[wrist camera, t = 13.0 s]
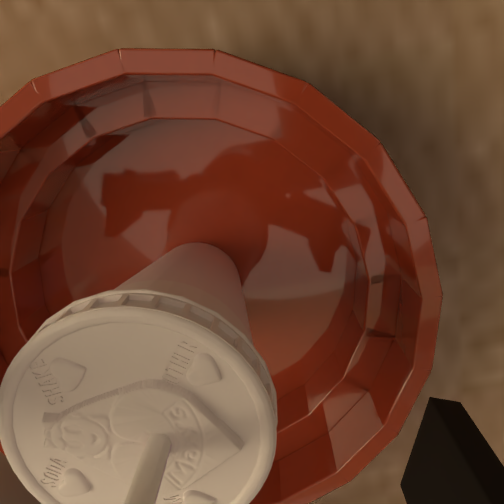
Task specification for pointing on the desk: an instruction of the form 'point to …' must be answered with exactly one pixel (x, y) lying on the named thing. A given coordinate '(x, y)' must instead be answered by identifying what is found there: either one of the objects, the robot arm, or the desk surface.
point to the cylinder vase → (12, 486)
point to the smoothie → (145, 393)
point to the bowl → (230, 234)
